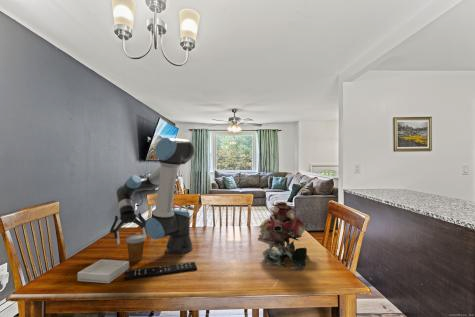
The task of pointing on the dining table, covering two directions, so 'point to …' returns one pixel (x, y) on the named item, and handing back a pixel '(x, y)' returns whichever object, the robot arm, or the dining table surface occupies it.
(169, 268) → the remote control
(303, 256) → the rose bouquet
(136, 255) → the disposable coffee cup
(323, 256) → the dining table surface
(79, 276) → the tray
